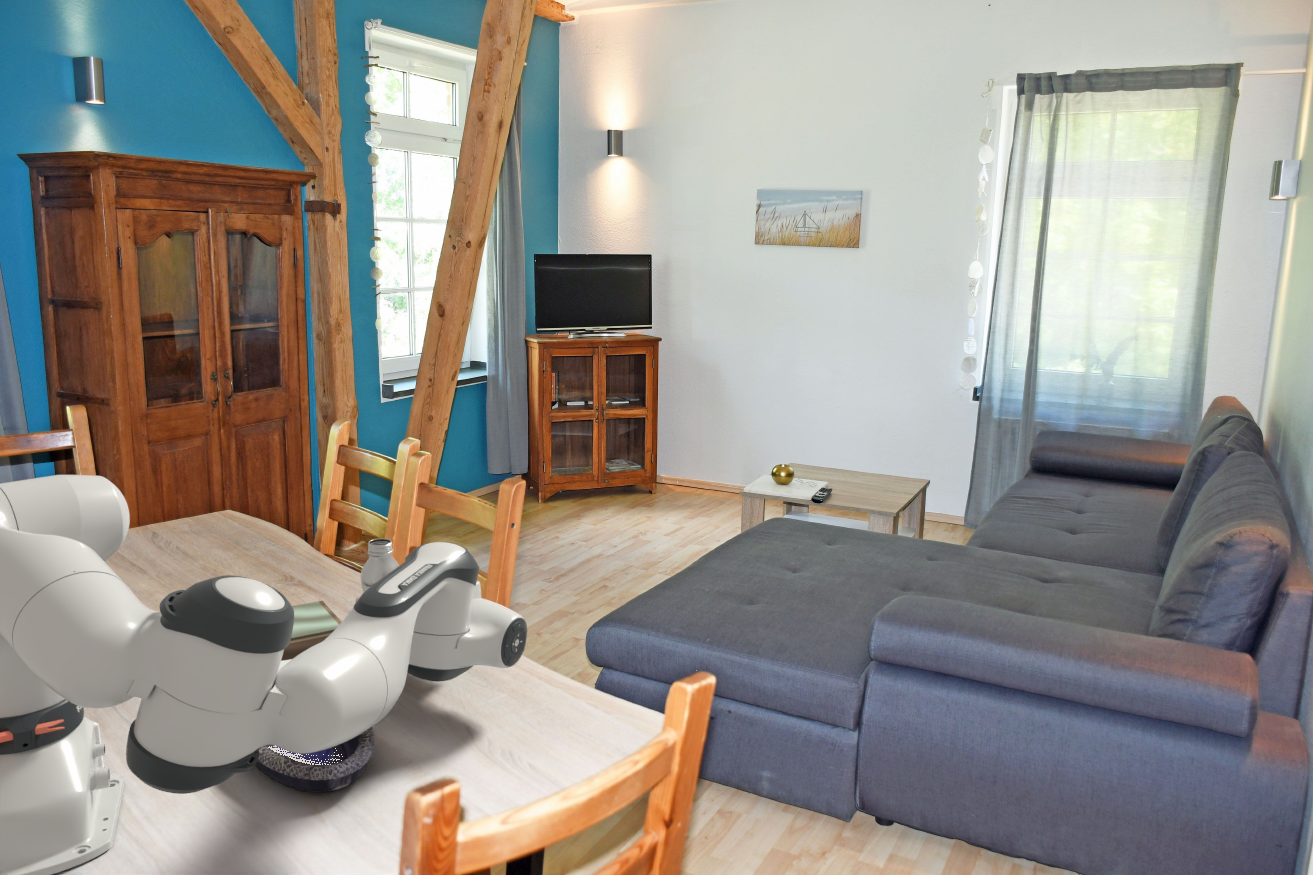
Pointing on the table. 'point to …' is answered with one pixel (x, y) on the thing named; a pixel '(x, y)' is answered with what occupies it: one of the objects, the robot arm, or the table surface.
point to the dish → (320, 775)
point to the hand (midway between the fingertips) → (378, 595)
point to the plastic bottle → (377, 562)
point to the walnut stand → (310, 627)
